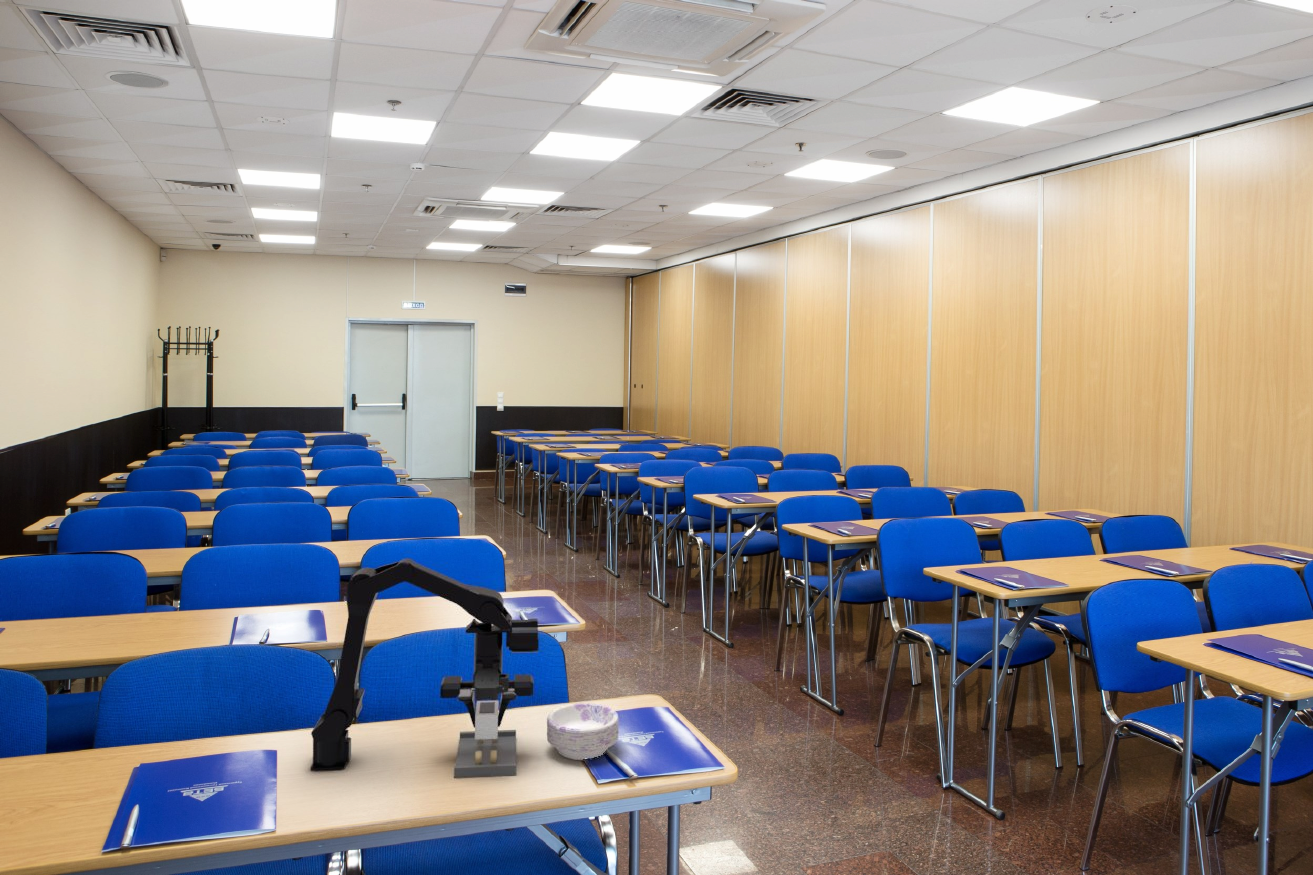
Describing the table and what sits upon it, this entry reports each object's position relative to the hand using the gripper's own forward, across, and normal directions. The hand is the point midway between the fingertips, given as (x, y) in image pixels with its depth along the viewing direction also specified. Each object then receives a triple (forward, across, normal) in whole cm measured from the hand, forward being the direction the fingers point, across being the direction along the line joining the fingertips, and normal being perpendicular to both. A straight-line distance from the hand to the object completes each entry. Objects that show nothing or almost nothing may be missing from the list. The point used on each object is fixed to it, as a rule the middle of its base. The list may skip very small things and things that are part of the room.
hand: (486, 726), depth 179 cm
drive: (+1, 0, 0) cm, 1 cm away
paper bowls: (+7, +20, +1) cm, 21 cm away
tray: (+7, 0, 0) cm, 7 cm away
